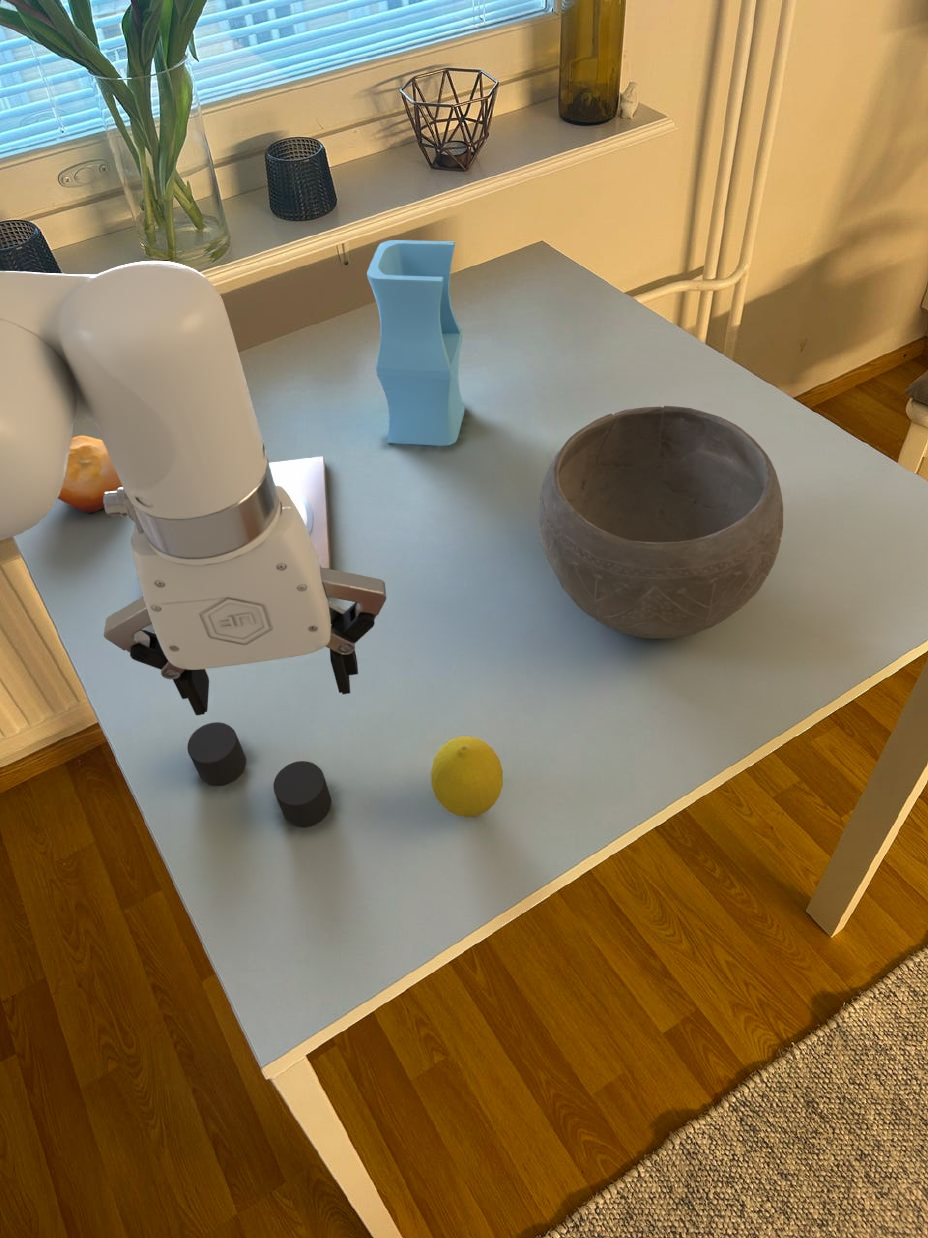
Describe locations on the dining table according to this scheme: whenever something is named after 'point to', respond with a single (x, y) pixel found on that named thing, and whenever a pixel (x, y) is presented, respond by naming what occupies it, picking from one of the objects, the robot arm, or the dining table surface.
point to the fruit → (88, 475)
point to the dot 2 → (302, 794)
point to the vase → (418, 341)
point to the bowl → (661, 520)
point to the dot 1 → (217, 753)
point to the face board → (308, 498)
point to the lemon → (466, 776)
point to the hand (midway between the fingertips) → (274, 687)
